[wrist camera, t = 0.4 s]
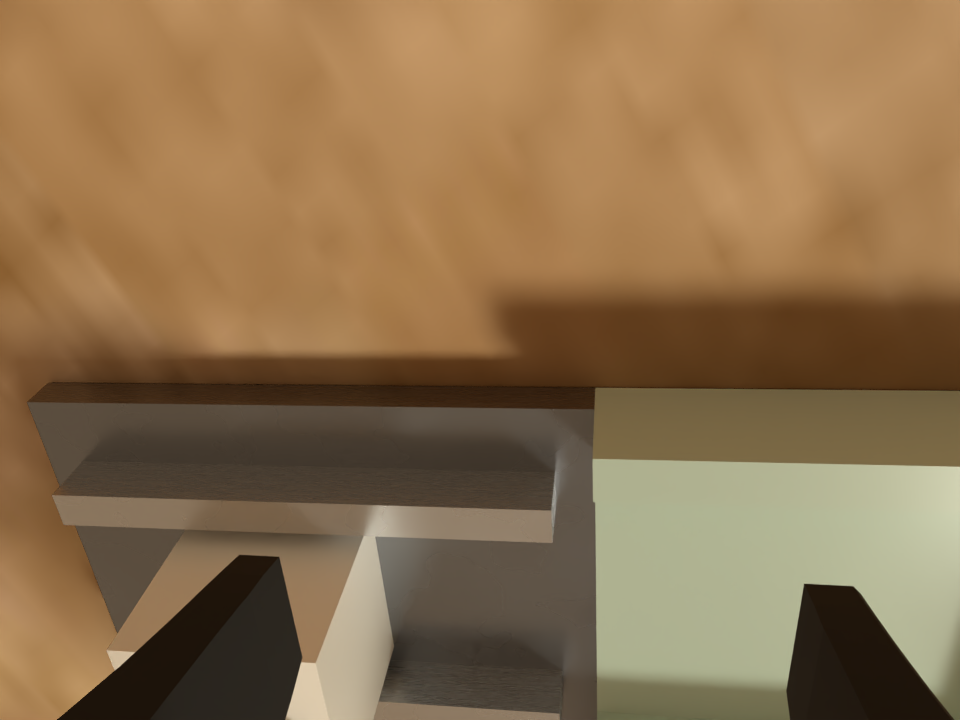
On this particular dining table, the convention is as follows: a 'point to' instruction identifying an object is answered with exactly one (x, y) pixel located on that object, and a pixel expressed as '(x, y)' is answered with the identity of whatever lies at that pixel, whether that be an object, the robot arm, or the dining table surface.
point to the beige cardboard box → (315, 607)
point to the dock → (365, 515)
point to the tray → (766, 538)
